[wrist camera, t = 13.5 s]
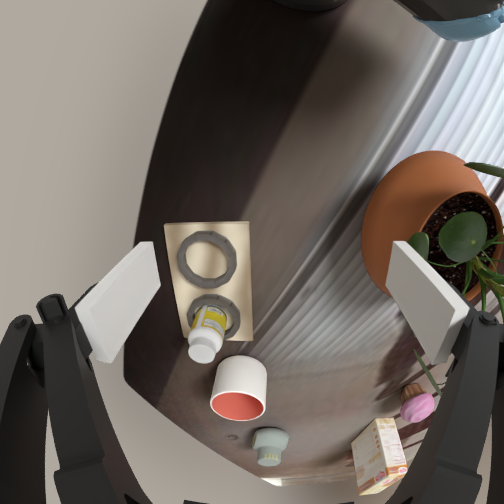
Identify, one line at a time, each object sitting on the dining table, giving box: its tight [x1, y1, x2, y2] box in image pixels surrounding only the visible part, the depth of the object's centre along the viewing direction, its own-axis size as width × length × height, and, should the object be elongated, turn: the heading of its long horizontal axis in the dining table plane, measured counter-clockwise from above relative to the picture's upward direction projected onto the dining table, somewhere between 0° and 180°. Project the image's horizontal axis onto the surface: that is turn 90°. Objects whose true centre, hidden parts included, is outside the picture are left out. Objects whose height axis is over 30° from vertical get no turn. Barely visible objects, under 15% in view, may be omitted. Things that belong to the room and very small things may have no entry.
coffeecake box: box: [351, 418, 408, 495], centre depth 55 cm, size 15×7×20 cm, turn 167°
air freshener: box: [252, 428, 288, 466], centre depth 60 cm, size 11×8×10 cm
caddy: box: [164, 221, 253, 341], centre depth 45 cm, size 13×22×2 cm, turn 2°
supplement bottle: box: [188, 304, 227, 363], centre depth 43 cm, size 5×5×10 cm
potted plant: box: [361, 151, 504, 396], centre depth 25 cm, size 23×28×30 cm
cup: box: [210, 355, 267, 421], centre depth 50 cm, size 10×10×10 cm
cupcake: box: [400, 383, 434, 423], centre depth 51 cm, size 9×9×10 cm
